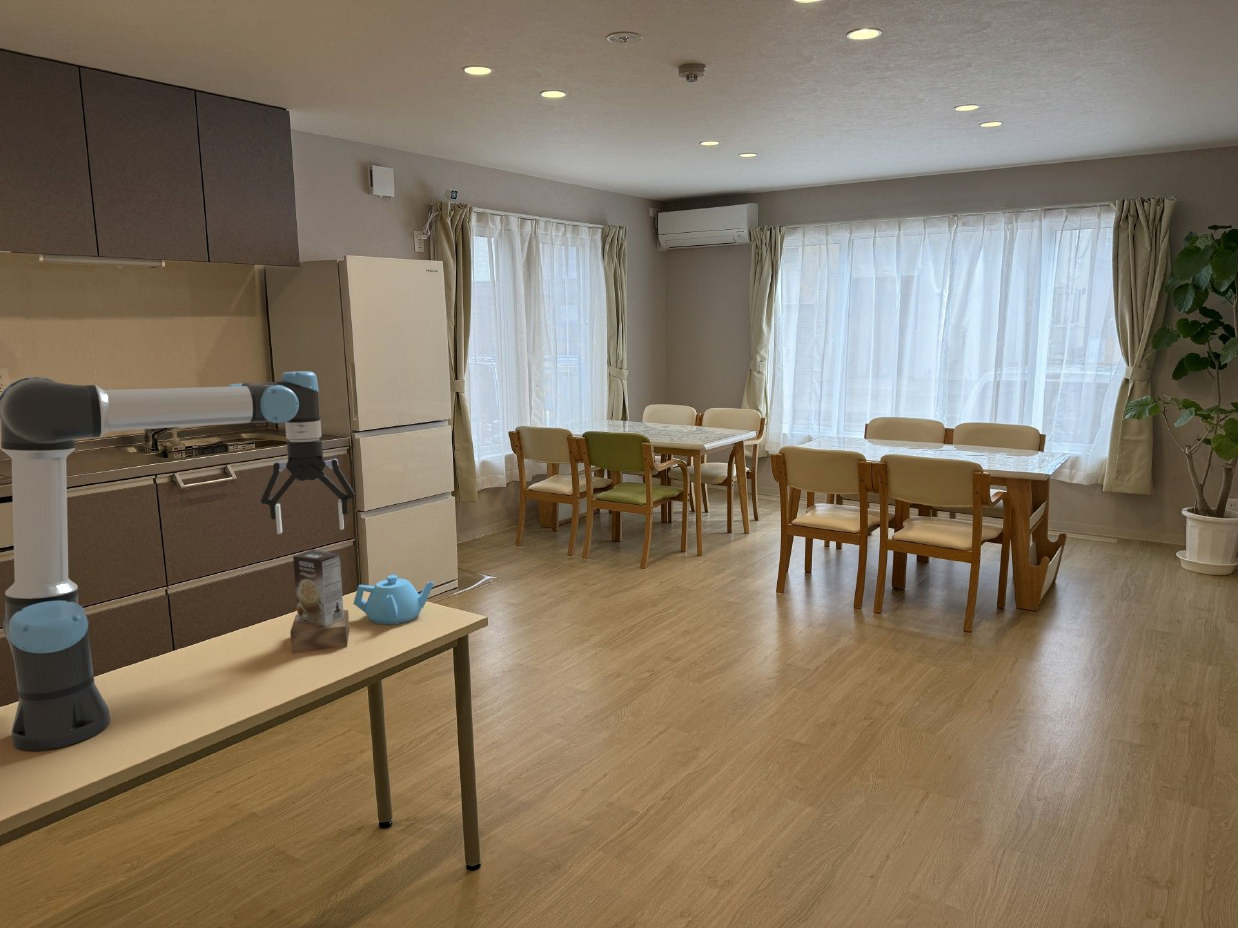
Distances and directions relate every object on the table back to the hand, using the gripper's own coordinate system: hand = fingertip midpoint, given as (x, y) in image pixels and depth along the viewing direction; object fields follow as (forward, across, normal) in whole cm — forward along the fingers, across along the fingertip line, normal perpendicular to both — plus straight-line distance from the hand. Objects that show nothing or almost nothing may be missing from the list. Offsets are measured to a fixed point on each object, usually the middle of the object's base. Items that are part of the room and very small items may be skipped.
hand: (311, 530), depth 195 cm
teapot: (+27, +18, +12) cm, 34 cm away
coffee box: (+22, +1, 0) cm, 22 cm away
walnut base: (+27, 0, 0) cm, 27 cm away
